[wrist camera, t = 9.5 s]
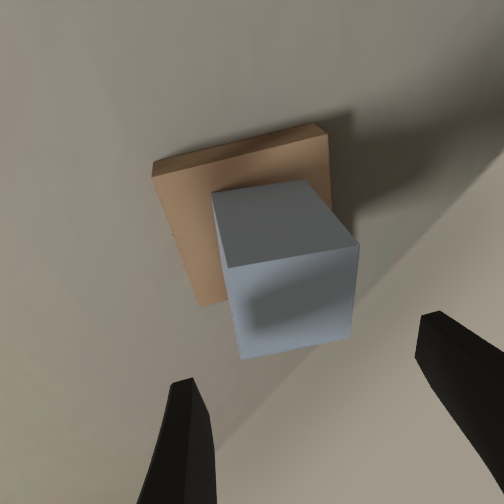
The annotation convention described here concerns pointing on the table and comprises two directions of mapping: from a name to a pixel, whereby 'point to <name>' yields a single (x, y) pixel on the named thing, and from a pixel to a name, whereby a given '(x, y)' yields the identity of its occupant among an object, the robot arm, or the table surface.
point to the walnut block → (230, 178)
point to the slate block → (285, 267)
